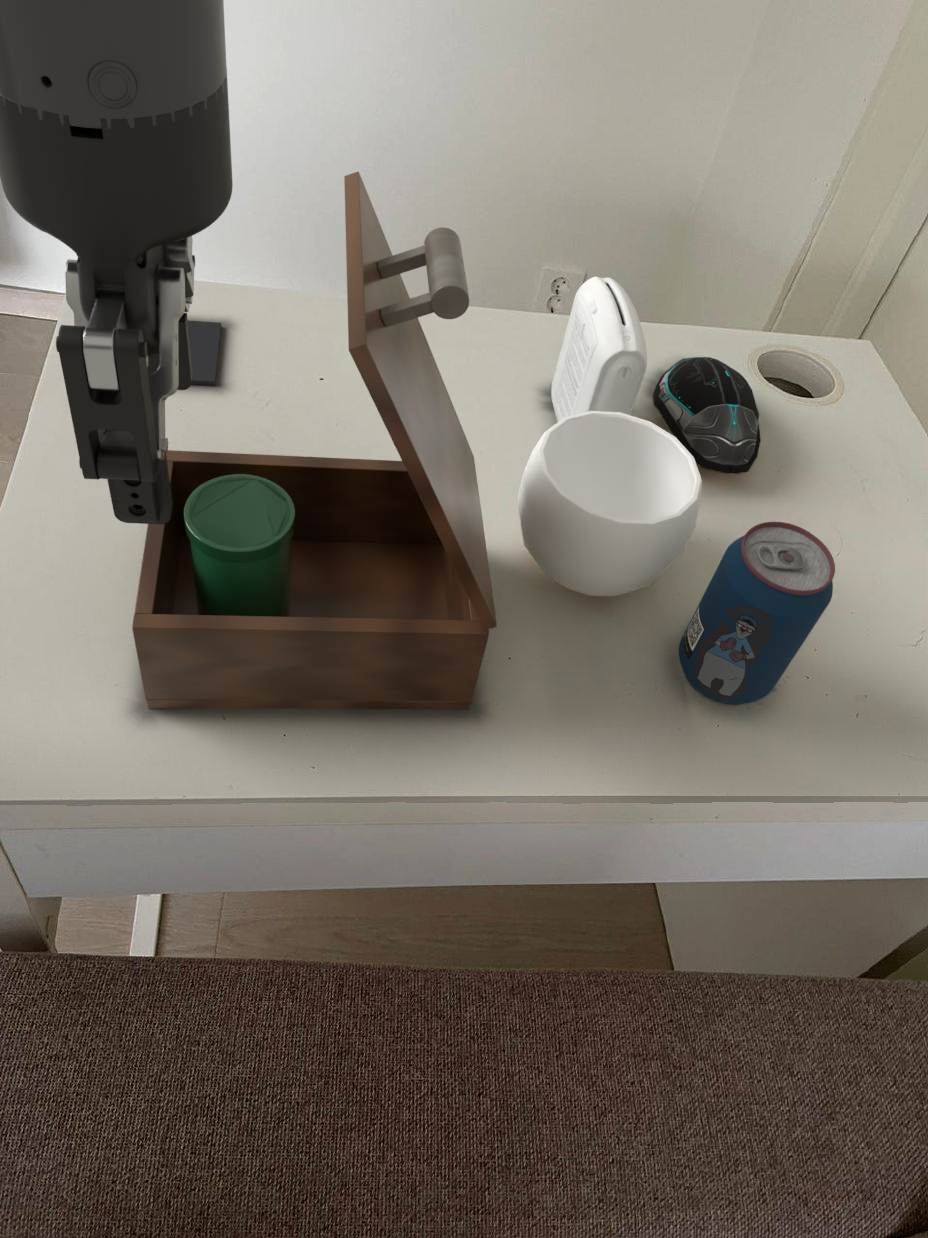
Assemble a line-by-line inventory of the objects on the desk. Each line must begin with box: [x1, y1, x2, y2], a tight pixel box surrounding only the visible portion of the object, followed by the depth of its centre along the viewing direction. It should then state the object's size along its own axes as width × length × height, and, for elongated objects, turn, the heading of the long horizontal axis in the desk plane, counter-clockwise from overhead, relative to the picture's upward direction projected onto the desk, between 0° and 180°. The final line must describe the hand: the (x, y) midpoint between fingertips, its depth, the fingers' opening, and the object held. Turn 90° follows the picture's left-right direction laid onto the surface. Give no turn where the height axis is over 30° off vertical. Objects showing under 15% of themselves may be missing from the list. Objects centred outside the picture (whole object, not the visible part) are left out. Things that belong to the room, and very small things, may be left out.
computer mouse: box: [652, 356, 762, 475], centre depth 84 cm, size 9×17×6 cm, turn 1°
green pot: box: [184, 474, 295, 617], centre depth 62 cm, size 6×6×9 cm
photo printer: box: [550, 275, 648, 423], centre depth 79 cm, size 10×4×12 cm, turn 8°
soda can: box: [678, 521, 836, 706], centre depth 65 cm, size 7×7×12 cm
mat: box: [188, 320, 222, 386], centre depth 82 cm, size 8×8×1 cm
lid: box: [343, 171, 498, 630], centre depth 54 cm, size 21×14×5 cm
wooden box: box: [131, 449, 490, 711], centre depth 64 cm, size 20×14×8 cm
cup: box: [516, 411, 703, 597], centre depth 70 cm, size 12×12×10 cm
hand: (157, 447), depth 43 cm, fingers open, 8 cm apart
